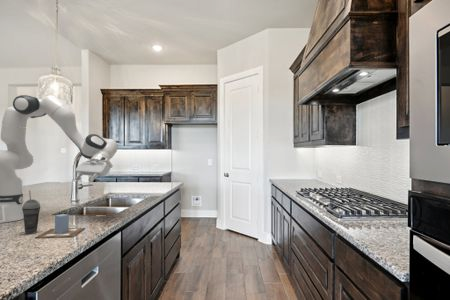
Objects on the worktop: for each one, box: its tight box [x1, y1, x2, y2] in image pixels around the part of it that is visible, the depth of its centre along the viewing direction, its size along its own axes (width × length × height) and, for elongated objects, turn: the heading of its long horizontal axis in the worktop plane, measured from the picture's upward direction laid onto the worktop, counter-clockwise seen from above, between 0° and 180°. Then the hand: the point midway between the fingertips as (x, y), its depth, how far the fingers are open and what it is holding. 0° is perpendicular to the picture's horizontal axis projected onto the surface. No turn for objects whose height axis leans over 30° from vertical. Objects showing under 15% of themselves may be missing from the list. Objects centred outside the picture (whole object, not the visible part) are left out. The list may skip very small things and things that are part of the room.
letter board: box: [34, 227, 86, 239], centre depth 130 cm, size 16×14×1 cm
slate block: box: [54, 213, 70, 234], centre depth 130 cm, size 4×4×8 cm
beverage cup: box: [22, 190, 42, 235], centre depth 131 cm, size 7×7×20 cm
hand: (83, 180), depth 149 cm, fingers open, 8 cm apart
